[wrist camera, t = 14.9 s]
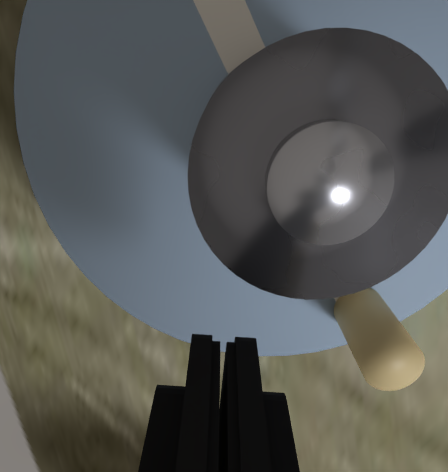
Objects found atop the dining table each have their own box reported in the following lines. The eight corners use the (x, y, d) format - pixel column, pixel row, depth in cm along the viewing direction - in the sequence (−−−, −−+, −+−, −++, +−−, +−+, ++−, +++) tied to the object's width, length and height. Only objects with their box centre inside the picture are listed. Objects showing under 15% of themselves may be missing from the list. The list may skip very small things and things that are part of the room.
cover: (170, 102, 13) (129, 122, 7) (325, 16, 12) (430, -46, 6) (244, 239, 15) (261, 348, 9) (383, 173, 14) (507, 243, 8)
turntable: (-75, 18, 13) (-231, -14, 9) (444, -330, 11) (620, -650, 6) (185, 388, 19) (175, 486, 15) (562, 230, 17) (696, 289, 12)
